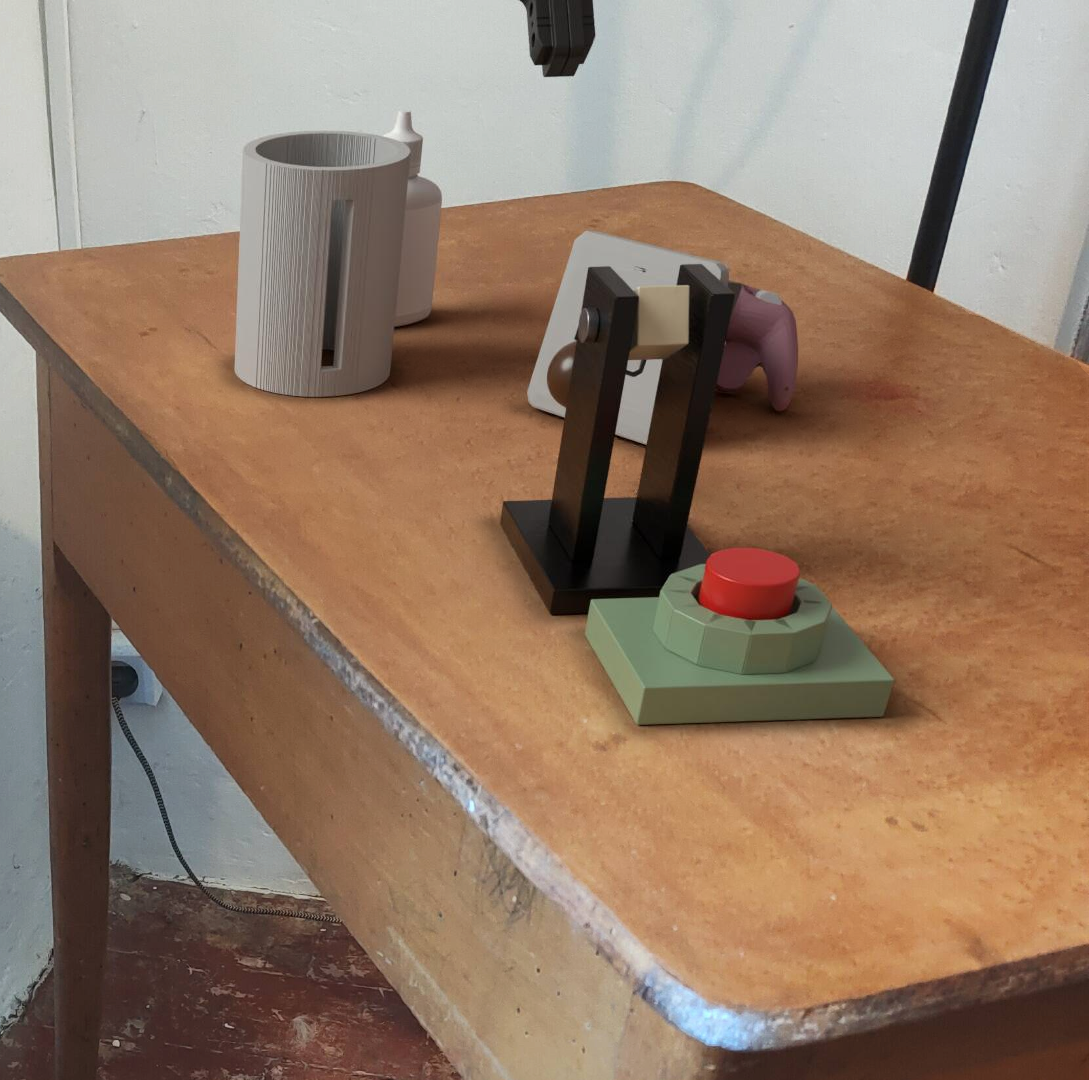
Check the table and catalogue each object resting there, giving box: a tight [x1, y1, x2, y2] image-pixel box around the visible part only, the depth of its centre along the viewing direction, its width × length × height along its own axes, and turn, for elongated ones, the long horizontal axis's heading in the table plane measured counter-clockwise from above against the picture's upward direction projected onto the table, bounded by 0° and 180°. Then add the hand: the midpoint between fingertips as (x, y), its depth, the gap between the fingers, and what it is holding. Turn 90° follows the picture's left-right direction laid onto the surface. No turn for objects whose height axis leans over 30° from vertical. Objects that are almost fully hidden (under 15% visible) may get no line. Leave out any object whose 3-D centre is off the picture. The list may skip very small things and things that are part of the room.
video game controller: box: [715, 282, 799, 412], centre depth 98 cm, size 10×5×7 cm, turn 79°
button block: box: [584, 564, 895, 726], centre depth 72 cm, size 10×8×4 cm
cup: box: [234, 130, 411, 398], centre depth 99 cm, size 9×9×12 cm
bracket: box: [499, 264, 735, 615], centre depth 78 cm, size 10×8×13 cm
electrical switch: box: [526, 230, 743, 446], centre depth 94 cm, size 9×5×9 cm, turn 39°
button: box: [699, 547, 801, 620], centre depth 70 cm, size 4×4×2 cm
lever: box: [547, 285, 690, 408], centre depth 80 cm, size 13×3×3 cm
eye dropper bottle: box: [382, 109, 443, 328], centre depth 107 cm, size 4×6×12 cm
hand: (564, 66), depth 85 cm, fingers closed
